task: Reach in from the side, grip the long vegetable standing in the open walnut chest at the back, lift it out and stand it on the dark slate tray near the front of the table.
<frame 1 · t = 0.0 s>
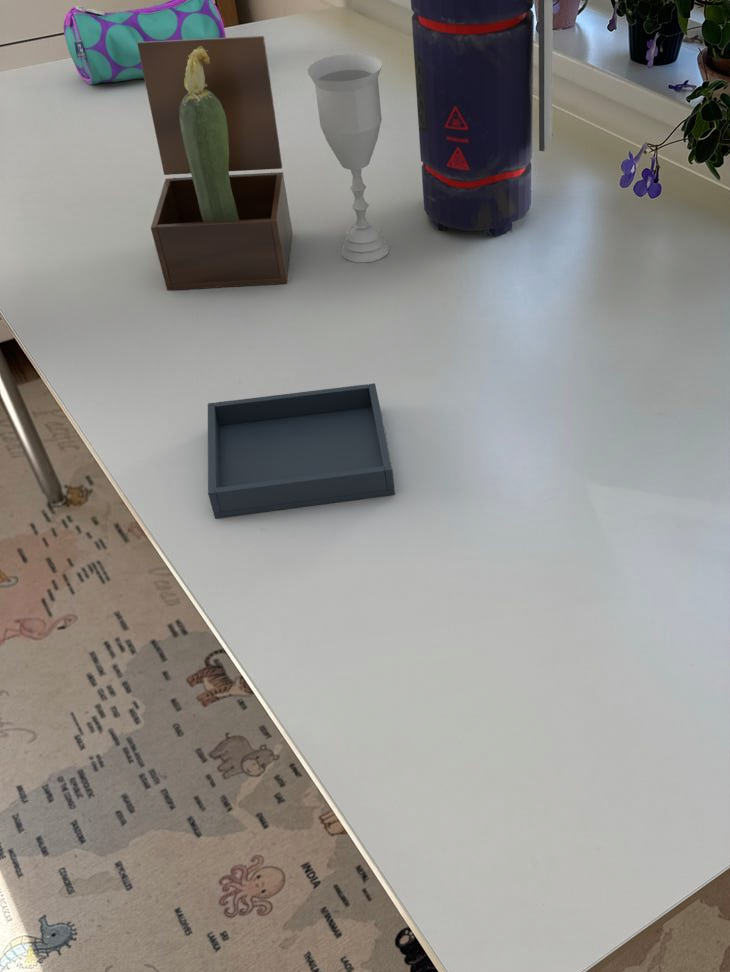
chalice: (365, 252, 111), on the table
navy canister: (485, 218, 115), on the table
lid: (212, 107, 105), point 13 cm above the table, hinge at 100.0°
tray: (300, 459, 86), on the table
chest: (232, 260, 110), on the table
vegetable: (231, 257, 109), resting on chest
pencil case: (155, 74, 148), on the table
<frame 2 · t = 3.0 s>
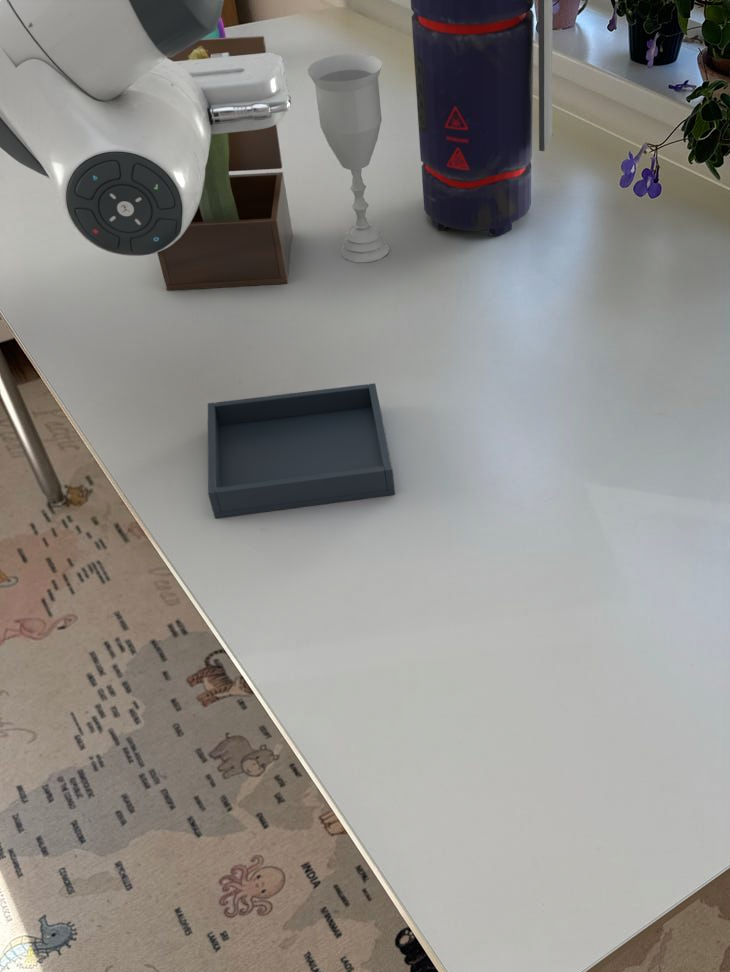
hand: (165, 69, 86), 22 cm above the table, tool horizontal, fingers open, 8 cm apart
nothing on the table moved.
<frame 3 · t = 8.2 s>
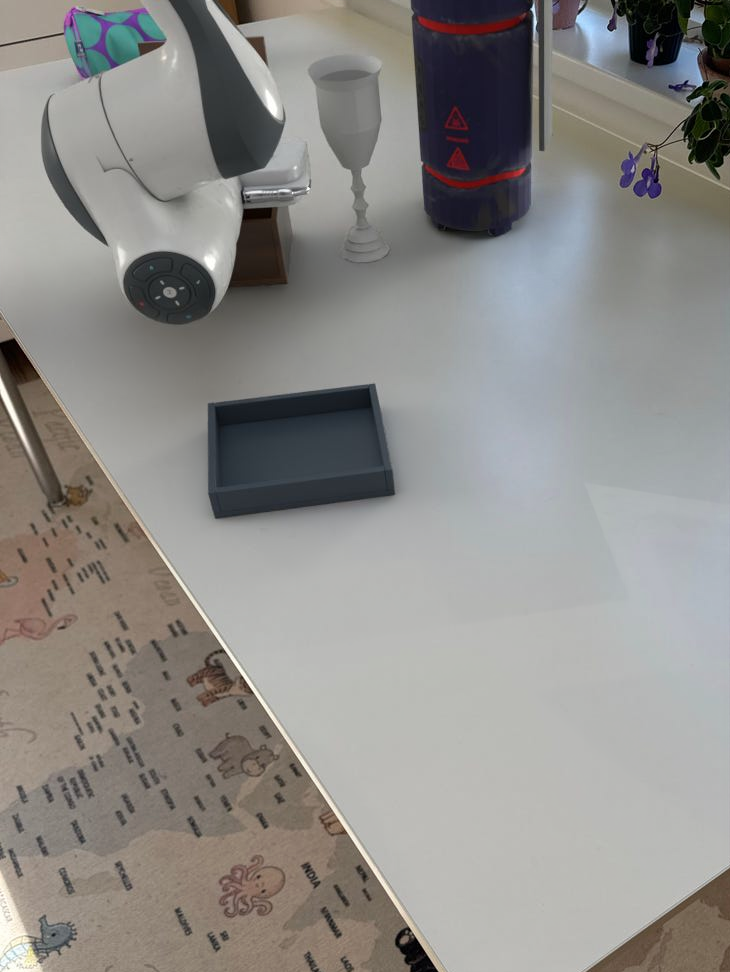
hand: (208, 139, 101), 12 cm above the table, tool horizontal, fingers closed on vegetable, 4 cm apart
vegetable: (231, 256, 109), resting on chest, touching gripper
everything else where it was.
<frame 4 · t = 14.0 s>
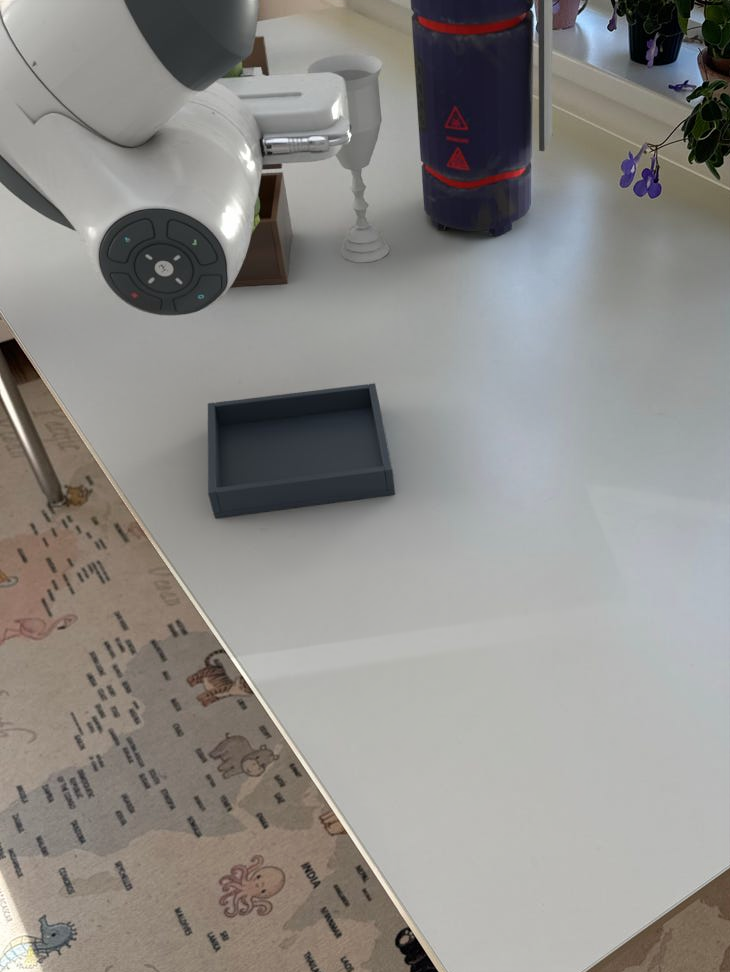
hand: (215, 80, 79), 24 cm above the table, tool horizontal, fingers closed on vegetable, 4 cm apart
vegetable: (245, 234, 87), point 12 cm above the table, touching gripper
everything else where it was.
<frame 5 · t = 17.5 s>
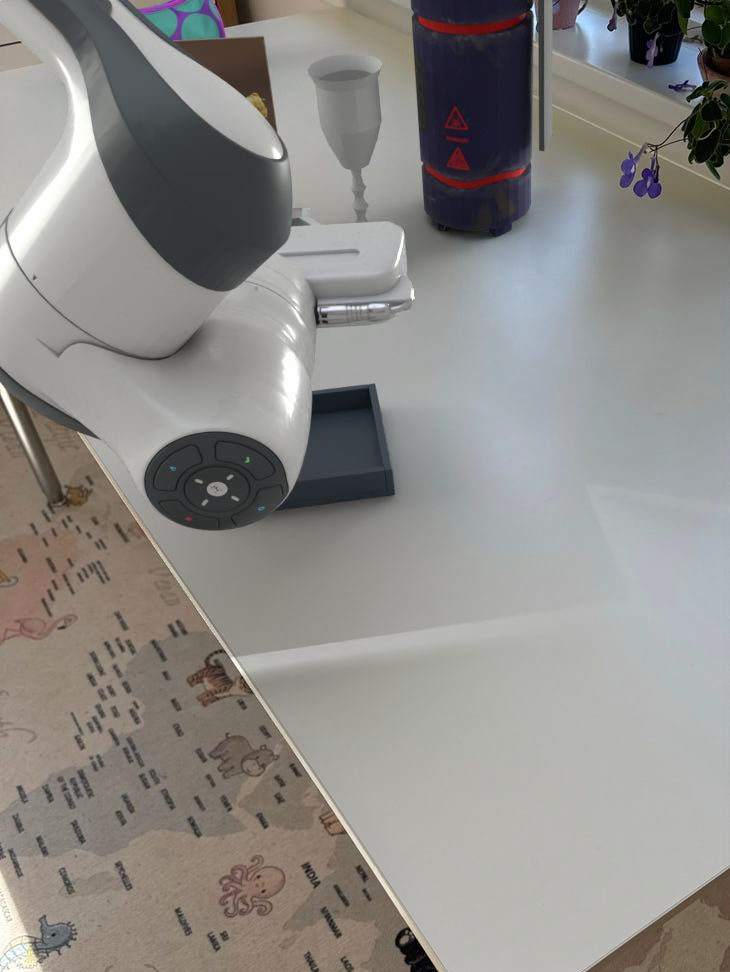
hand: (258, 220, 72), 20 cm above the table, tool horizontal, fingers closed on vegetable, 4 cm apart
vegetable: (286, 373, 80), point 8 cm above the table, touching gripper
everything else where it was.
when the fingers open (12 cm above the table, at t = 20.1 s): vegetable stays where it is, resting on tray.
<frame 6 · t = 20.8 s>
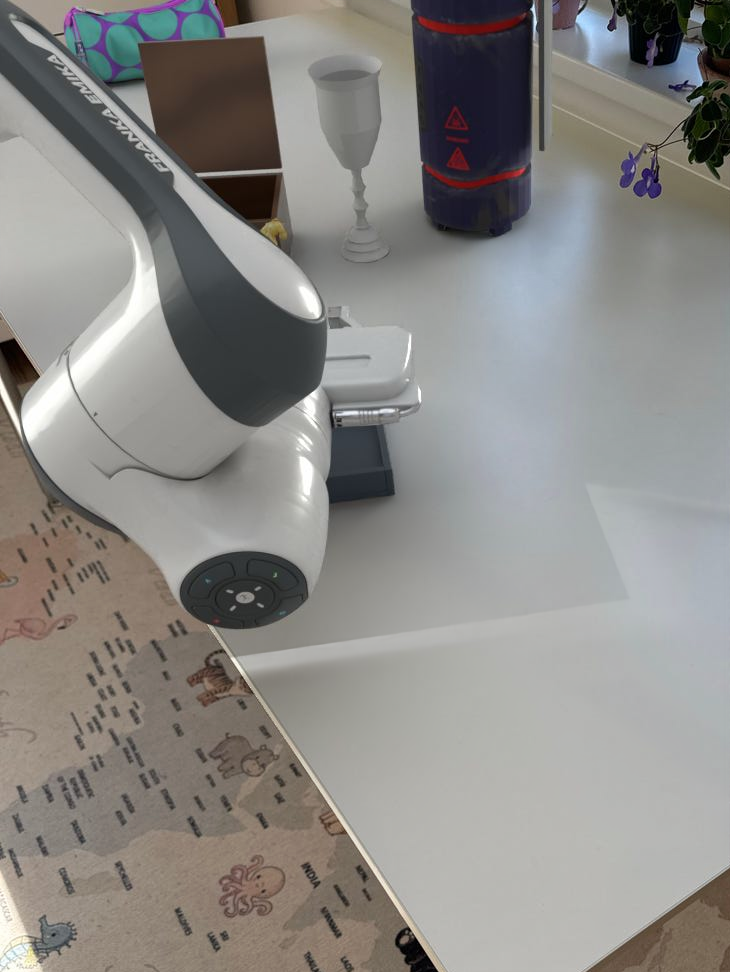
hand: (276, 318, 77), 12 cm above the table, tool horizontal, fingers open, 8 cm apart
vegetable: (301, 457, 86), resting on tray
everything else where it was.
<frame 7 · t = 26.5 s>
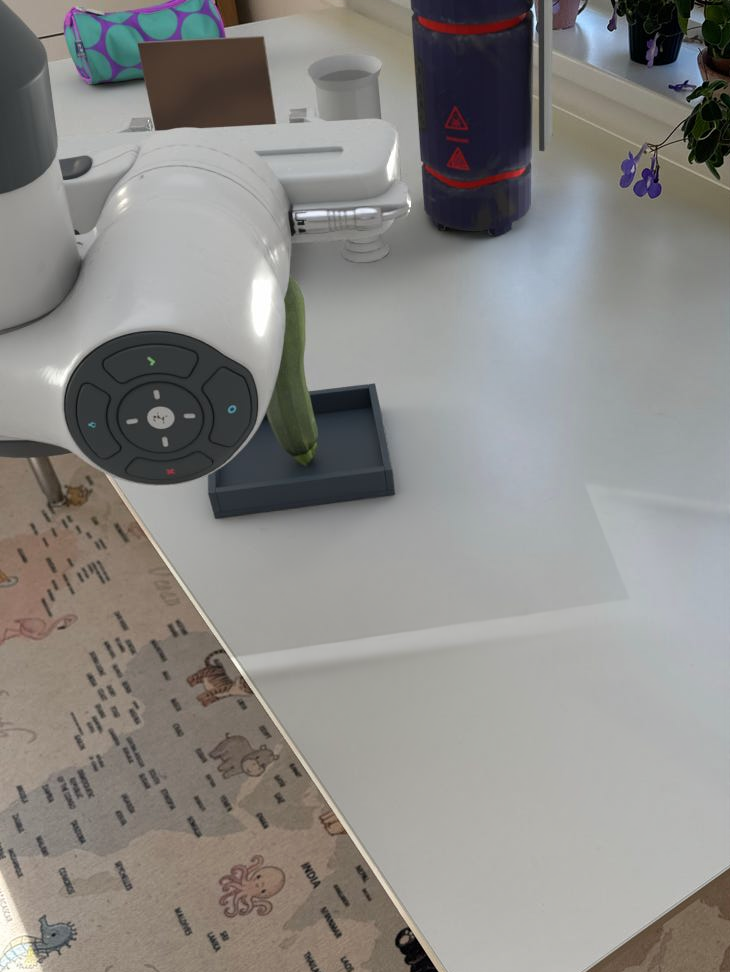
hand: (223, 126, 60), 29 cm above the table, tool horizontal, fingers open, 8 cm apart
nothing on the table moved.
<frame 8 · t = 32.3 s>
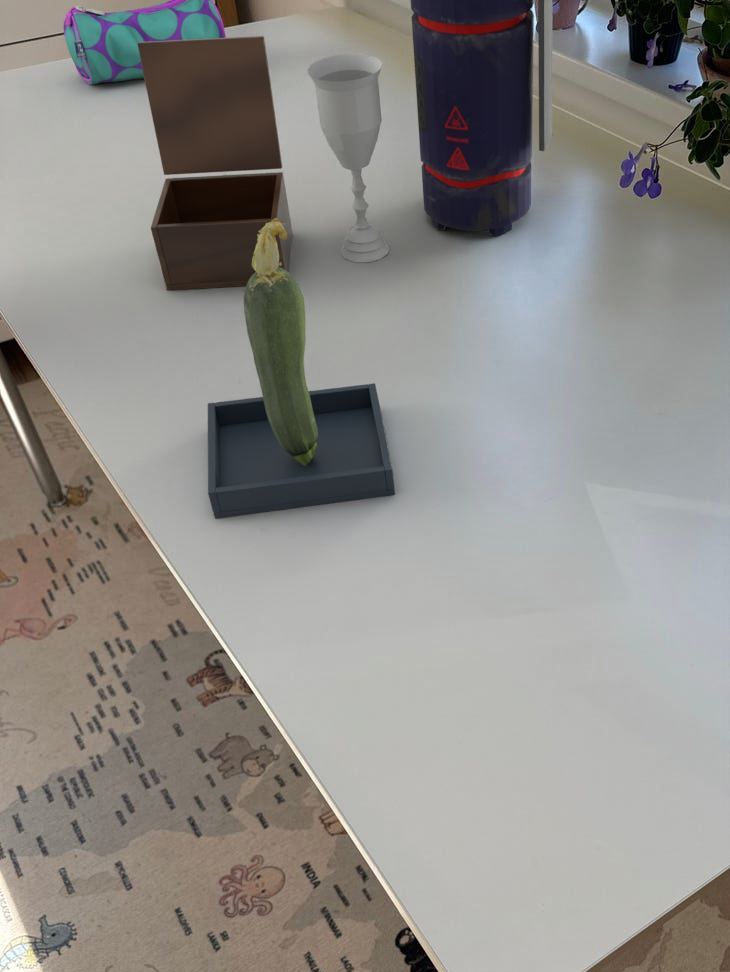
nothing on the table moved.
at the end: vegetable inside the target area on the tray (0.1 cm from its centre), point 0.3 cm above the tray's base; the gripper is holding nothing; lid at +100° (first picture: +100°) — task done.
